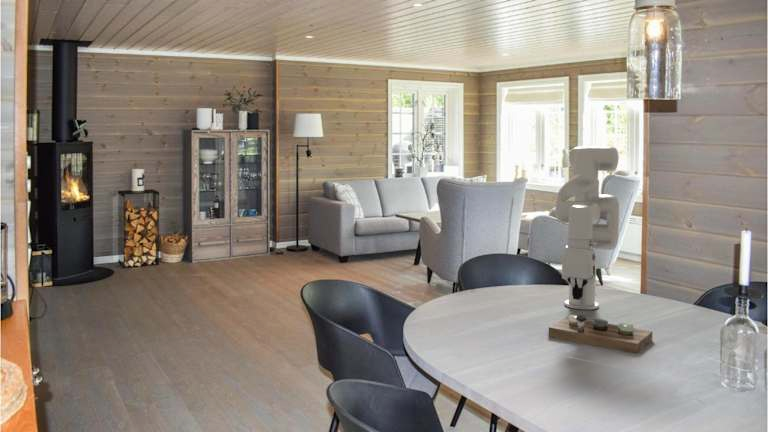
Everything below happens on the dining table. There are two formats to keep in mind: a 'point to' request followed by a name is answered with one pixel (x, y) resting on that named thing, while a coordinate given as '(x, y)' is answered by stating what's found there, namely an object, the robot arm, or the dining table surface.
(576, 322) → the knob cream
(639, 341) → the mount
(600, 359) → the dining table surface
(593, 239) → the robot arm
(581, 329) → the dial post
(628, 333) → the knob sage
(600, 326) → the knob charcoal
